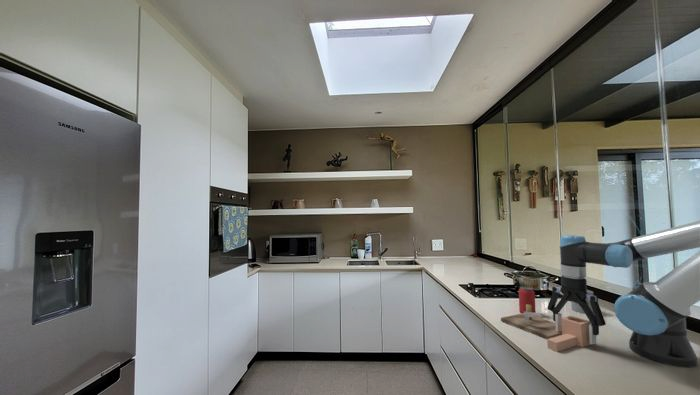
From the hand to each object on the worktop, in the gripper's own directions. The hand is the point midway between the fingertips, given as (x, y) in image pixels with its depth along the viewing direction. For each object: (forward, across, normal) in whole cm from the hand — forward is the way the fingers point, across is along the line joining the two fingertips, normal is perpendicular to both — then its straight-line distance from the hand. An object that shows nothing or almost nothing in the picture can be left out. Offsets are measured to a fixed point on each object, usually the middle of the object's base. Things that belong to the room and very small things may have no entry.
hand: (575, 336), depth 102 cm
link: (+2, -1, +6) cm, 6 cm away
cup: (+2, +17, -41) cm, 45 cm away
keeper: (+2, +13, +4) cm, 13 cm away
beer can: (+2, +26, -13) cm, 30 cm away
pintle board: (+2, +14, 0) cm, 15 cm away
